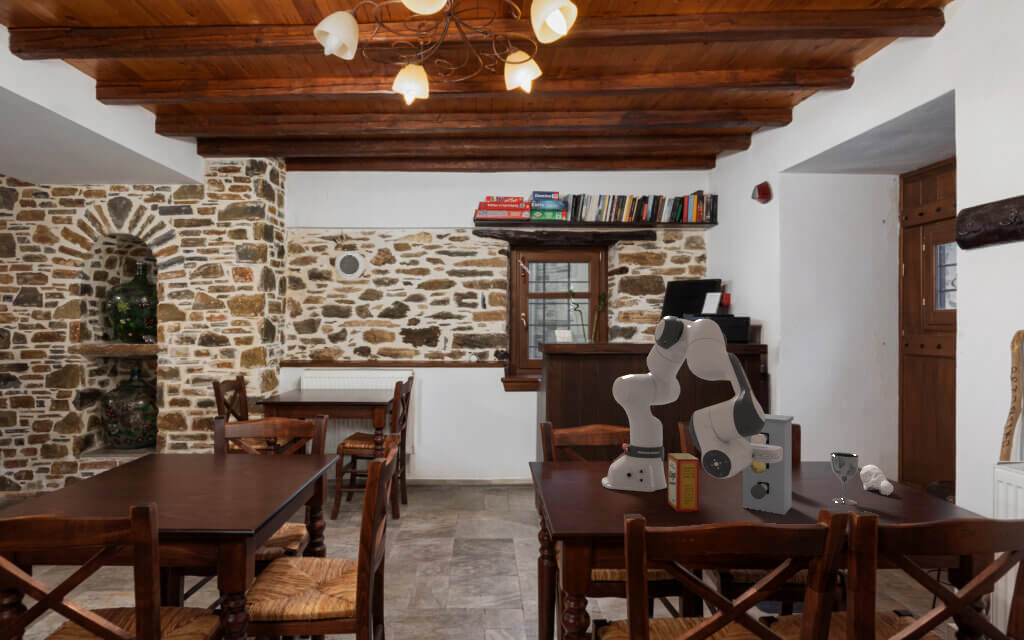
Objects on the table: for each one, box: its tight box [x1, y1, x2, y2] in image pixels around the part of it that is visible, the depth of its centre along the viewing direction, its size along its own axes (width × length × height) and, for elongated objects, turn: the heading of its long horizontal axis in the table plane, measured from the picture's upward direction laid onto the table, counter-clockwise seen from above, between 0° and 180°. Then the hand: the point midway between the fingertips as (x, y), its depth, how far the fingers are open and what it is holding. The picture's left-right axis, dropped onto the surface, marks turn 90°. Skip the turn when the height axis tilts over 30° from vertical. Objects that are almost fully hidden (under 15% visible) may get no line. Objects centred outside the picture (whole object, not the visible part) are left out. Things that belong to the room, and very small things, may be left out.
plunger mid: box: [751, 461, 769, 474], centre depth 186 cm, size 10×4×4 cm, turn 145°
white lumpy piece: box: [859, 464, 894, 497], centre depth 211 cm, size 6×8×12 cm
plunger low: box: [751, 482, 769, 499], centre depth 186 cm, size 10×4×4 cm, turn 145°
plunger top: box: [751, 433, 769, 445], centre depth 186 cm, size 10×4×4 cm, turn 145°
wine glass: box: [830, 451, 860, 506], centre depth 199 cm, size 8×8×15 cm
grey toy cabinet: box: [742, 413, 795, 516], centre depth 192 cm, size 11×13×28 cm
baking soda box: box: [667, 452, 700, 513], centre depth 191 cm, size 10×6×16 cm
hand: (749, 446), depth 175 cm, fingers closed
